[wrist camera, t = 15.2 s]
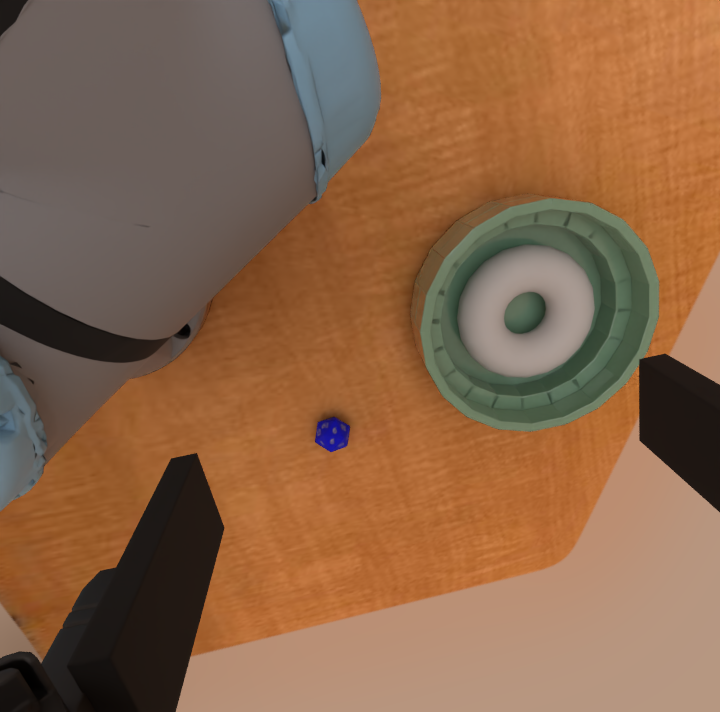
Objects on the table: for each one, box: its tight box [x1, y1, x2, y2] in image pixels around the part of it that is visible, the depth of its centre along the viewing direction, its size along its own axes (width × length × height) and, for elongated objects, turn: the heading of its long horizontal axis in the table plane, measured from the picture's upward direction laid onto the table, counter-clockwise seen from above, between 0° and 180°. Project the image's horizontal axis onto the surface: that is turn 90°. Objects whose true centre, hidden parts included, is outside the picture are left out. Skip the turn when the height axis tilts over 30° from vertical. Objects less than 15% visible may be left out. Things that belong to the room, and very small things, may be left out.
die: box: [315, 417, 350, 452], centre depth 42 cm, size 3×3×3 cm
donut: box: [457, 244, 595, 378], centre depth 38 cm, size 10×4×10 cm
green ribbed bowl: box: [410, 194, 659, 432], centre depth 38 cm, size 16×16×5 cm
